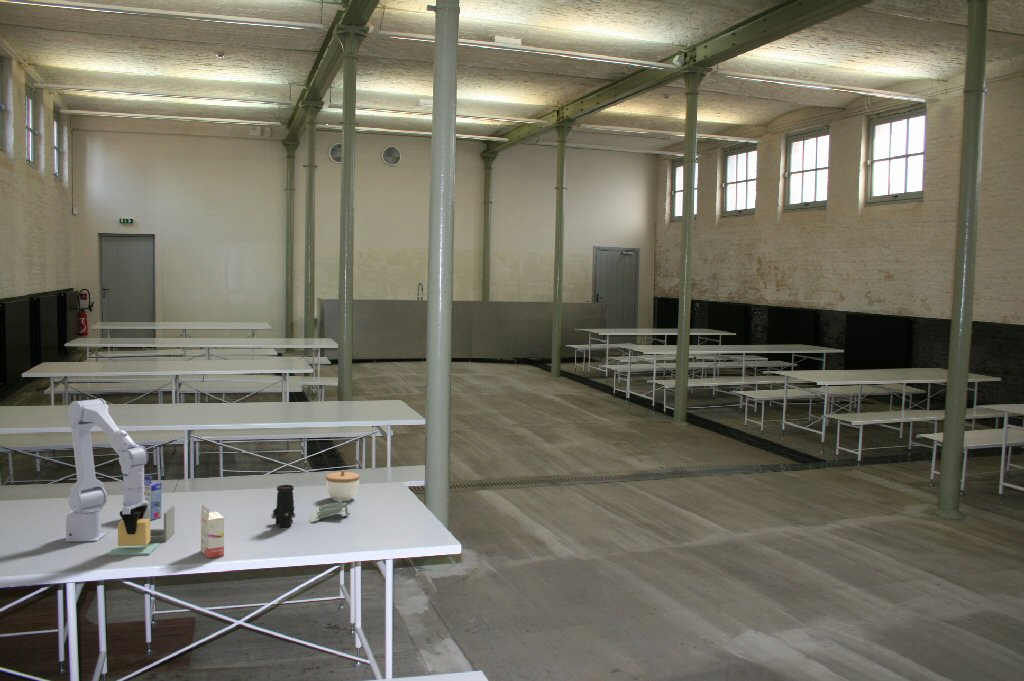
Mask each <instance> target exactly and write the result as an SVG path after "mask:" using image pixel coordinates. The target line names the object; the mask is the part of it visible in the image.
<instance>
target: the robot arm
mask: <svg viewBox="0 0 1024 681" xmlns="http://www.w3.org/2000/svg"><path fill="white" fill-rule="evenodd" d="M66 411H67V420H68V427H69V428H71V437H72V438H71V439H72V446H73V456H74V464H75V471H76V472H75V473H76V482H75V483H74V484H73V485H72V486H71V487H70V488H69V490H68V491H69V497H68V506H69V508H70V509H71V510H69V511H68V513H67V516H66V520H65V521H66V522H65V523H66V524H65V529H66V530H65V531H66V532H65V534H66V537H65V542H97V541H99V540H100V539H101V538H102V537H104V536H105V535H106V532H102V510H103V509H104V506H105V505H107V504H106V503H107V501H108V494H107V491H106V489H105V485H104V482H102V481H101V480H99V479H97V477H96V469H95V462H94V461H95V460H94V452H93V451H94V450H93V443H92V435H91V429H92V428H93V426H94V425H97V426H98V427H99V428H100V429H101V430H102V431H103V432H104V434H106V436H108V444H109V445H110V446H111V448H112V449H113V451H114V452H115V453H116V454H117V455H118V456H119V457H118V462H119V465H120V467H121V468H120V469H121V474H123V483H122V484H123V486H122V487H123V490H122V491H123V501H122V509H121V511H119V516H120V518H121V520H122V519H123V521H124V524H125V528H126V531H127V534H135V532H136V527H137V520H138V519H143V517H144V514H145V511H146V509H147V507H148V505H146V504H148V501H145V496H144V479H145V478H144V475H145V465H146V464H148V461H149V453H148V450H147V449H146V447H145V446H143V445H139V444H136V442H135V441H134V440H133V439H132V437H131V436H130V435H129V434H128V432H127V431H126V430H123V429H120V428H119V427H118V426H117V424H116V423H115V421H114V419H113V418H112V416H111V415H110V413H109V405H108V404H107V401H106V400H104V399H103V398H97V399H96V398H95V399H86V400H78V401H77V400H74V401H72V402H71V403H70V404H69V406H68V407H67V408H66Z"/></svg>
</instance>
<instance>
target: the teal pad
mask: <svg viewBox="0 0 1024 681" xmlns="http://www.w3.org/2000/svg"><path fill="white" fill-rule="evenodd" d="M160 544H161V542H152V543H151V542H149V543H148V544H147V545H146V546H118V544H117V545H115V547H113V548H112V549H111V550H110V551H109V552H108V553H107V557H108V556H110V555H112V556H115V557H117V555H118V556H150V555H151V554H152V553H153V552H154V551H155V550H156V549H157V548H158V547H159V546H160ZM110 557H111V556H110Z"/></svg>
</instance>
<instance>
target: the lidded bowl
mask: <svg viewBox="0 0 1024 681" xmlns="http://www.w3.org/2000/svg"><path fill="white" fill-rule="evenodd" d="M325 480H326V482H325V483H326V484H325V486H326V490H327V493H328V495H329V496H330V497H331V498H332V500H333V501H335V502H338V501H340V500H341V501H342V502H348V501H351V500H352V498H354V497H355V496H356V494H357V493H358V491H359V485H360V474H358V473H356V472H351V471H345V470H344V469H343V470H341V471H340V472H339V471H338V472H337V471H336V472H332V473H327V475H325Z"/></svg>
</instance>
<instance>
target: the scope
mask: <svg viewBox="0 0 1024 681" xmlns="http://www.w3.org/2000/svg"><path fill="white" fill-rule="evenodd" d="M294 489H295V488H294V485H292V484H280V485H277V487H276V491H277V493H276V494H277V495H276V507H275V508H274V509H273V510H272V513H271V516H270V518H271V519H273V520H274V519H275V524H276V525H278V528H279V529H281V528H288V529H290V527H291V528H292V523H294V521H293V519H294V518H296V513H295V508H296V506H295V500H294V492H293V491H294Z"/></svg>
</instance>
